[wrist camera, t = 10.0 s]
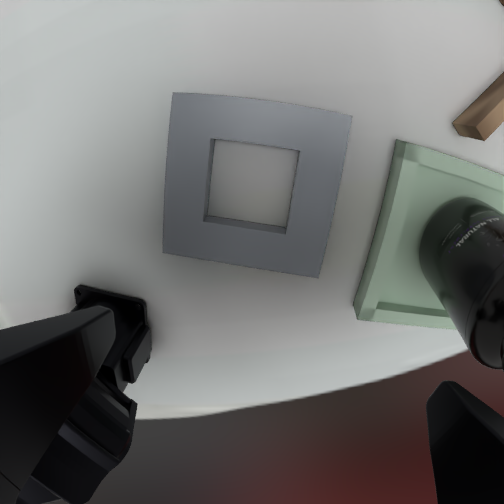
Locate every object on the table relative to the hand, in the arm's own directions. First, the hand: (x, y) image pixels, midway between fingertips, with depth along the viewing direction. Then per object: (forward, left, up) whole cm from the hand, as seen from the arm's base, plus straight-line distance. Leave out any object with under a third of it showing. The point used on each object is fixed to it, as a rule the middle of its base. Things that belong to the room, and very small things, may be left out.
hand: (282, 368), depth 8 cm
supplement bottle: (+12, 0, -13) cm, 18 cm away
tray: (+12, 0, -13) cm, 18 cm away
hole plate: (-2, +1, -13) cm, 14 cm away
